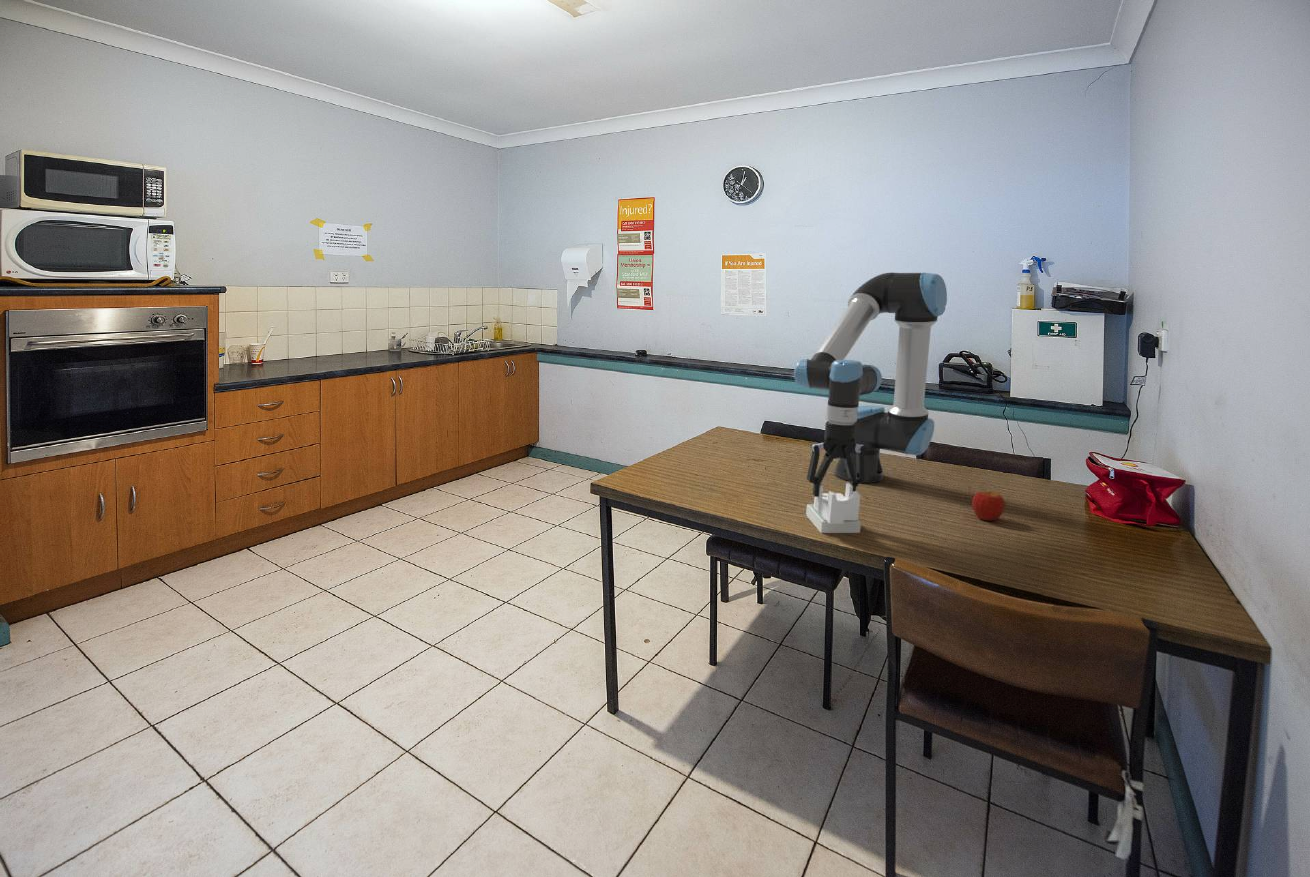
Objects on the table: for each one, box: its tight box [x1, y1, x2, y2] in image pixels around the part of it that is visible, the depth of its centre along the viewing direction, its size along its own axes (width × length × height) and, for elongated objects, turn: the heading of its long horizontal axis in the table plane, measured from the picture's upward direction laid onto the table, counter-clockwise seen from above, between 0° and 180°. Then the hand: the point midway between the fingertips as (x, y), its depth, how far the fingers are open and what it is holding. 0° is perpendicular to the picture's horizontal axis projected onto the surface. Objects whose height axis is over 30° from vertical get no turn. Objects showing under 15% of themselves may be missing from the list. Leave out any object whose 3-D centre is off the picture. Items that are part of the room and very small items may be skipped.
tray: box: [805, 503, 862, 534], centre depth 172 cm, size 10×13×3 cm
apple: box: [971, 491, 1006, 521], centre depth 178 cm, size 8×8×8 cm
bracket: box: [813, 490, 861, 524], centre depth 168 cm, size 13×7×8 cm, turn 4°
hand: (832, 508), depth 171 cm, fingers closed on bracket, 7 cm apart
